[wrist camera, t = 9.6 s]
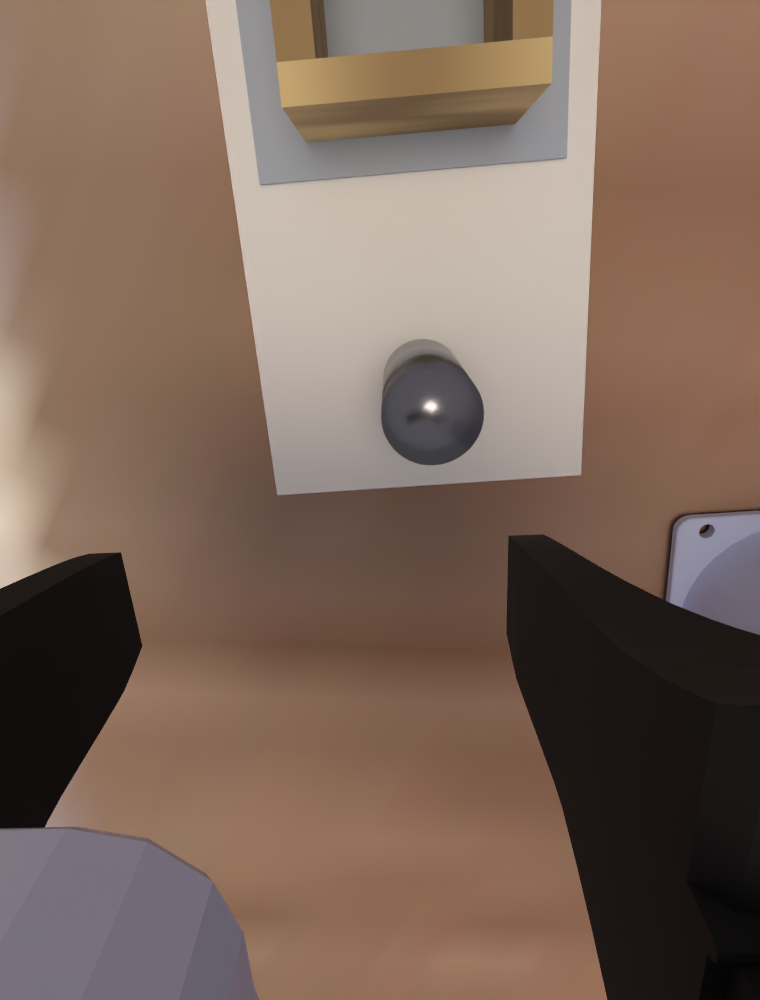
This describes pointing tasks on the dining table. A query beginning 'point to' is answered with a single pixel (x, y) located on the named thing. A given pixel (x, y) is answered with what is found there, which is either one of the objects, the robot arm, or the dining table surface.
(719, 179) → the dining table surface
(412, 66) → the collar
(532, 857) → the dining table surface
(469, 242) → the board
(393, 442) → the post
